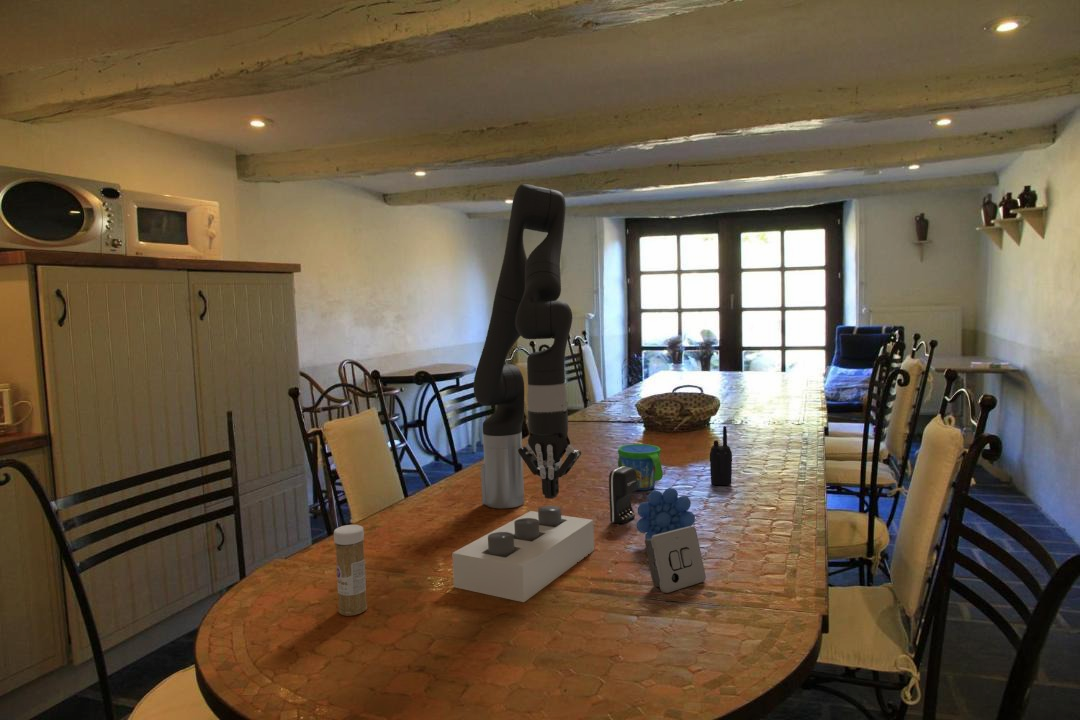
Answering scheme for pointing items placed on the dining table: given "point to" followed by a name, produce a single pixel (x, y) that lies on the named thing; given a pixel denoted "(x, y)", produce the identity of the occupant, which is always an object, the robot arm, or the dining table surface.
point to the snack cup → (642, 463)
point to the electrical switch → (675, 559)
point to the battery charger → (622, 493)
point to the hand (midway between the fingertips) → (550, 497)
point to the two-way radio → (721, 462)
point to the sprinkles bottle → (350, 569)
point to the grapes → (664, 513)
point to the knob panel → (523, 559)
